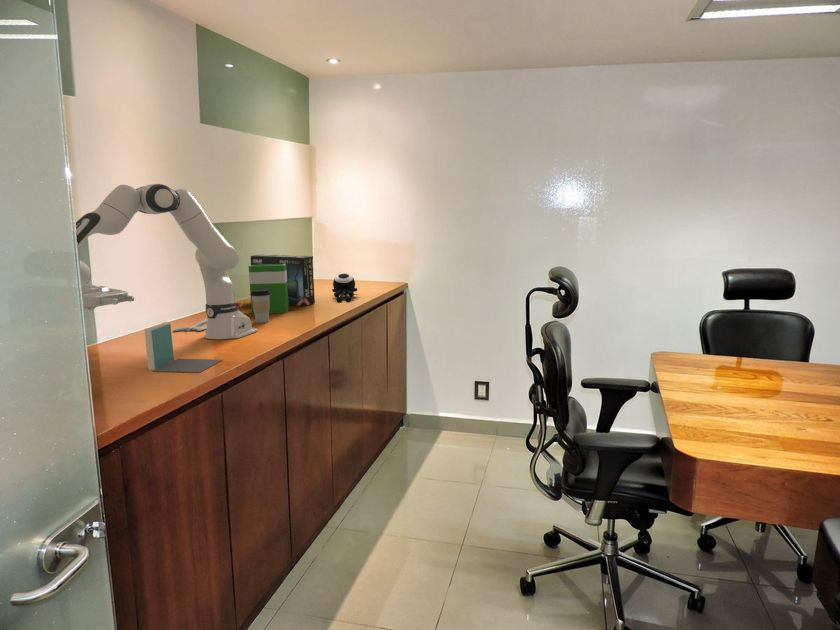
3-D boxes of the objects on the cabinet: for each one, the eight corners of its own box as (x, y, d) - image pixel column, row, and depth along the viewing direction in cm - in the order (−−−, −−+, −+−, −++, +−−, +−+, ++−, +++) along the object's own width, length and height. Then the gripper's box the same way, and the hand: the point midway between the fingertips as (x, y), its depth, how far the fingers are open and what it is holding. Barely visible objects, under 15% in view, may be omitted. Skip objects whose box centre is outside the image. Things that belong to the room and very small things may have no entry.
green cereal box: (251, 313, 308) (248, 266, 303) (254, 310, 315) (251, 264, 310) (286, 312, 309) (284, 265, 304) (288, 309, 316) (286, 263, 312)
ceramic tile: (148, 369, 204) (144, 329, 202) (168, 360, 216) (164, 322, 213) (155, 370, 204) (151, 329, 201) (174, 360, 216) (171, 322, 213)
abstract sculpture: (329, 291, 333) (330, 265, 360) (331, 320, 342) (332, 293, 370) (357, 290, 334) (356, 265, 361) (358, 319, 344) (357, 292, 371)
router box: (251, 303, 339) (248, 255, 334) (264, 300, 349) (261, 253, 344) (305, 306, 325) (302, 256, 320) (316, 303, 335) (314, 255, 330)
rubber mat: (152, 371, 202) (152, 370, 202) (178, 359, 217) (178, 358, 217) (199, 372, 199) (199, 371, 199) (222, 360, 215) (222, 359, 215)
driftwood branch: (198, 320, 294) (197, 315, 293) (226, 320, 293) (225, 315, 293) (171, 333, 264) (170, 328, 264) (202, 333, 264) (201, 327, 263)
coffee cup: (257, 324, 278) (255, 292, 275) (248, 321, 285) (246, 290, 282) (276, 321, 284) (274, 290, 281) (266, 319, 291) (264, 288, 288)
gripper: (67, 290, 198) (106, 294, 197) (105, 285, 218) (141, 288, 217) (67, 309, 199) (106, 313, 198) (105, 302, 219) (141, 306, 218)
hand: (125, 300), depth 208 cm, fingers open, 8 cm apart
